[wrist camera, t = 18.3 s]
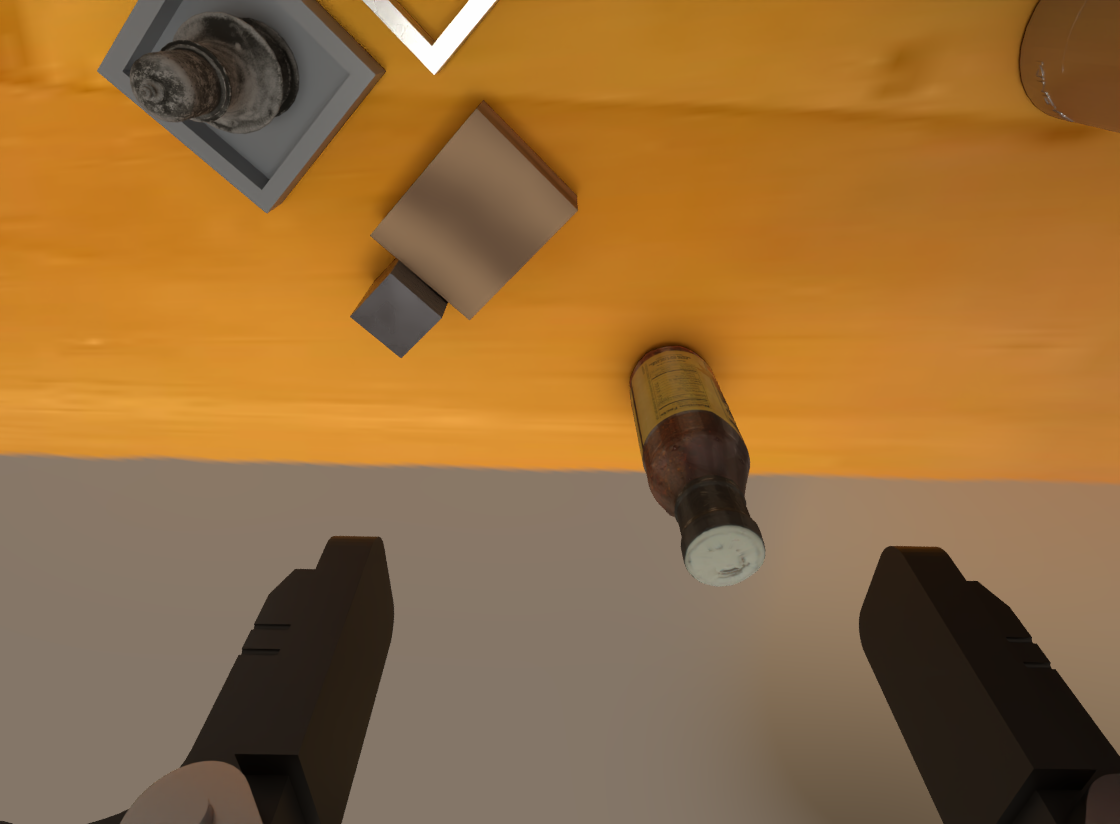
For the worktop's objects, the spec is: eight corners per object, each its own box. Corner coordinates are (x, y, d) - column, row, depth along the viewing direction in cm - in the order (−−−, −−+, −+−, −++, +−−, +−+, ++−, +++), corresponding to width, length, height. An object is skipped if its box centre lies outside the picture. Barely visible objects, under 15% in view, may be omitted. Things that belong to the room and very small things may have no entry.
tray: (220, -96, 35) (198, -103, 33) (386, 71, 39) (375, 74, 37) (122, 67, 39) (96, 71, 37) (281, 203, 43) (266, 213, 41)
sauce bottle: (697, 418, 52) (762, 619, 35) (619, 406, 51) (646, 604, 34) (722, 343, 48) (808, 525, 31) (639, 329, 48) (680, 507, 31)
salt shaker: (240, 139, 41) (133, 184, 30) (179, 36, 38) (37, 48, 28) (324, 101, 39) (241, 134, 29) (267, -8, 37) (153, -13, 26)
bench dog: (410, 242, 44) (390, 273, 39) (455, 283, 46) (441, 317, 41) (373, 282, 46) (350, 316, 41) (418, 320, 47) (401, 358, 42)
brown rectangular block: (483, 99, 40) (476, 108, 37) (576, 194, 43) (577, 210, 40) (385, 217, 44) (369, 235, 41) (476, 297, 47) (469, 320, 44)
